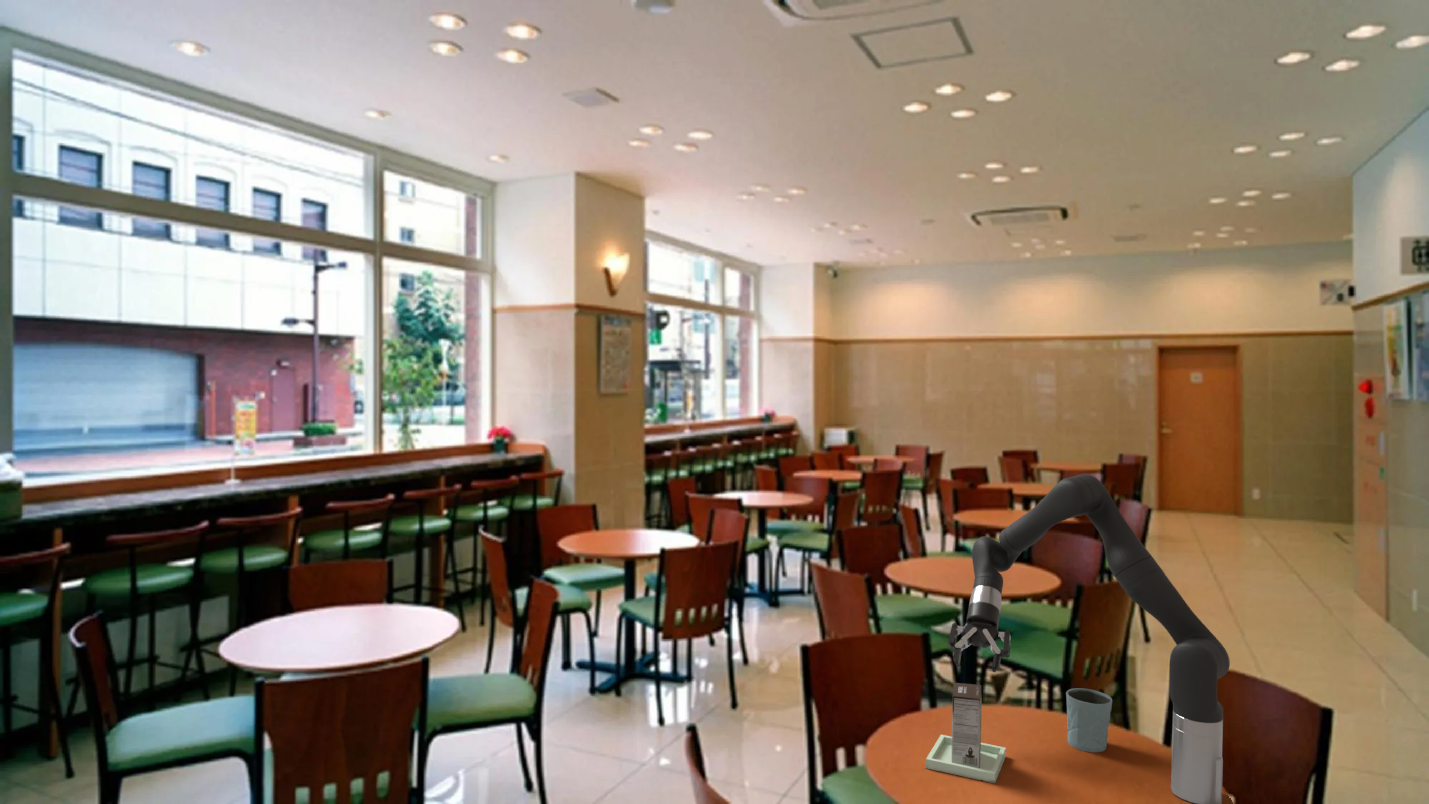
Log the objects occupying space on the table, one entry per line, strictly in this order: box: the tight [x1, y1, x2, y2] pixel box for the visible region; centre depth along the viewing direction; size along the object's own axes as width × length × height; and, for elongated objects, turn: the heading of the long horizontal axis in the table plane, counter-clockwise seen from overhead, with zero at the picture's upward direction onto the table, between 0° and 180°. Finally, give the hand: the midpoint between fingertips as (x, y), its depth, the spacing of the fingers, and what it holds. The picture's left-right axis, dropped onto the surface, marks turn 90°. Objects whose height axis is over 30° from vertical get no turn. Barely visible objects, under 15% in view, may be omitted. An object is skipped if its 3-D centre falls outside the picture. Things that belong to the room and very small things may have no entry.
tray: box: [925, 734, 1007, 784], centre depth 193 cm, size 15×15×2 cm
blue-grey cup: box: [1065, 687, 1113, 753], centre depth 203 cm, size 10×10×12 cm
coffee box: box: [951, 682, 983, 768], centre depth 194 cm, size 9×6×16 cm
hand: (975, 667), depth 201 cm, fingers open, 8 cm apart
